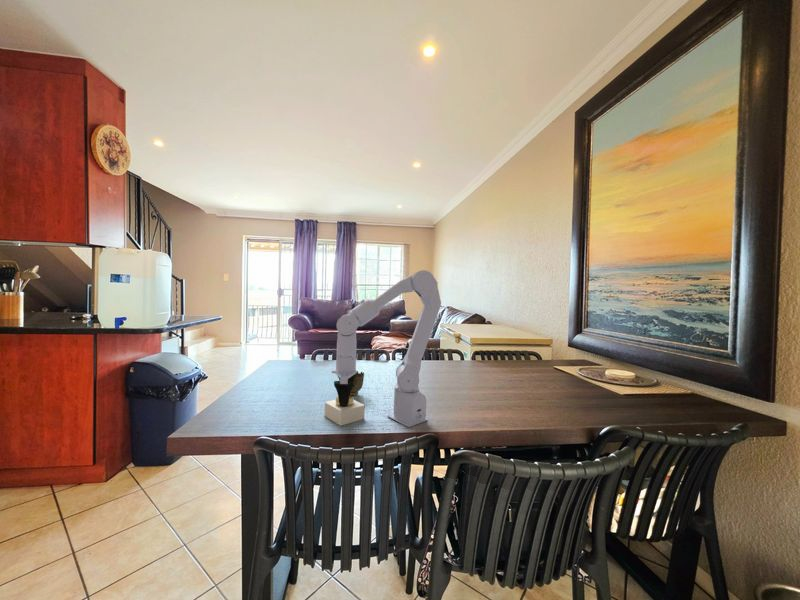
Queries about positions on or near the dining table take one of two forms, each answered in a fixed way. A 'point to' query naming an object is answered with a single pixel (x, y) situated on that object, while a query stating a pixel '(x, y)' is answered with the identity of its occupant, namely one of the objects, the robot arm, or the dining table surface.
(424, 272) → the robot arm
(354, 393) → the cup
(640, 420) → the dining table surface
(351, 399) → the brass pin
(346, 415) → the block
